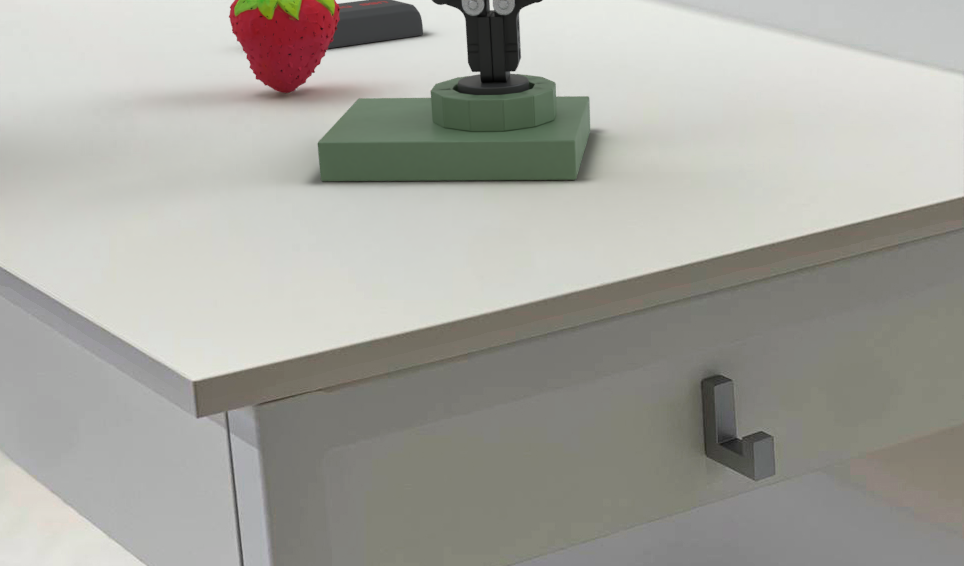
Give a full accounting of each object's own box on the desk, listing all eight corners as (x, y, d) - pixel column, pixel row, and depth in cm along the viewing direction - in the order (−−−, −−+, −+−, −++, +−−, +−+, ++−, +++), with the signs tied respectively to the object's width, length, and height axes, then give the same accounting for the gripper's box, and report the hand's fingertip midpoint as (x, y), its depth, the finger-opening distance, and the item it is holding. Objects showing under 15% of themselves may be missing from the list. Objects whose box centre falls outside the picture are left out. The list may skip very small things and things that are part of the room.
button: (454, 119, 90) (452, 87, 89) (464, 103, 94) (463, 73, 93) (526, 118, 90) (524, 87, 89) (533, 102, 94) (532, 72, 93)
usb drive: (423, 34, 129) (421, 0, 128) (286, 54, 123) (282, 17, 122) (391, 26, 133) (389, -8, 132) (256, 45, 127) (253, 9, 126)
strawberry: (359, 96, 109) (347, -58, 105) (249, 108, 106) (232, -49, 102) (335, 80, 113) (323, -67, 110) (230, 91, 111) (213, -59, 107)
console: (320, 181, 88) (314, 109, 87) (361, 133, 98) (355, 68, 97) (576, 180, 87) (574, 107, 86) (590, 132, 98) (588, 65, 96)
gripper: (607, -253, 88) (615, 64, 94) (367, -247, 89) (391, 68, 95) (599, -251, 81) (608, 92, 87) (338, -244, 82) (366, 95, 88)
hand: (495, 79), depth 91 cm, fingers closed
